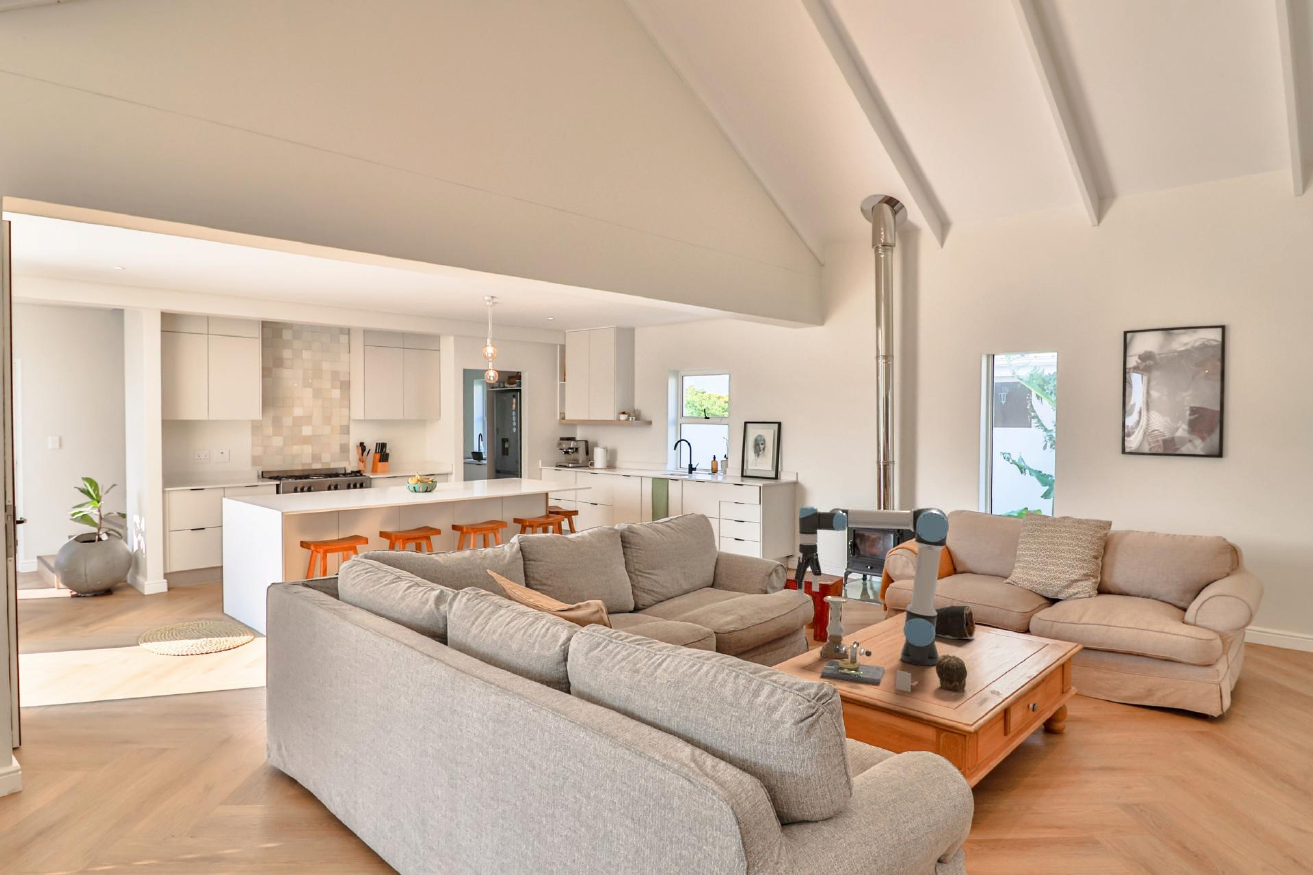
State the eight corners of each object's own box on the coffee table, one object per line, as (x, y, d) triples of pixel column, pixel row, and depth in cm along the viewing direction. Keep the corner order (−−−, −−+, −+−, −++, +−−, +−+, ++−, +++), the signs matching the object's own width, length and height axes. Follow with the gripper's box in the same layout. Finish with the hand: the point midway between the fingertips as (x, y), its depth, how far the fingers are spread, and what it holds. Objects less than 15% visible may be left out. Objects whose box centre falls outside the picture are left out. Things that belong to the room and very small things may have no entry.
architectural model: (899, 687, 295) (900, 667, 294) (917, 691, 290) (917, 671, 290) (895, 689, 292) (896, 669, 292) (913, 694, 287) (914, 674, 287)
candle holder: (848, 658, 328) (849, 602, 327) (822, 657, 330) (822, 600, 329) (847, 651, 338) (848, 596, 338) (821, 649, 340) (822, 595, 340)
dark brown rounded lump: (930, 683, 298) (931, 652, 298) (958, 682, 299) (958, 651, 299) (943, 693, 287) (943, 660, 287) (972, 692, 288) (972, 660, 288)
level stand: (884, 671, 311) (884, 661, 311) (879, 684, 296) (880, 673, 296) (828, 664, 319) (828, 655, 319) (821, 676, 304) (821, 666, 304)
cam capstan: (874, 665, 312) (875, 642, 312) (870, 675, 300) (870, 652, 299) (837, 660, 318) (838, 638, 318) (832, 670, 305) (832, 647, 305)
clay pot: (918, 602, 379) (971, 600, 364) (925, 633, 379) (978, 632, 364) (908, 612, 367) (962, 610, 352) (915, 644, 367) (970, 643, 352)
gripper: (813, 539, 341) (813, 587, 341) (786, 546, 321) (786, 597, 321) (829, 540, 336) (829, 589, 336) (802, 548, 316) (802, 600, 317)
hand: (808, 593), depth 329 cm, fingers open, 13 cm apart
